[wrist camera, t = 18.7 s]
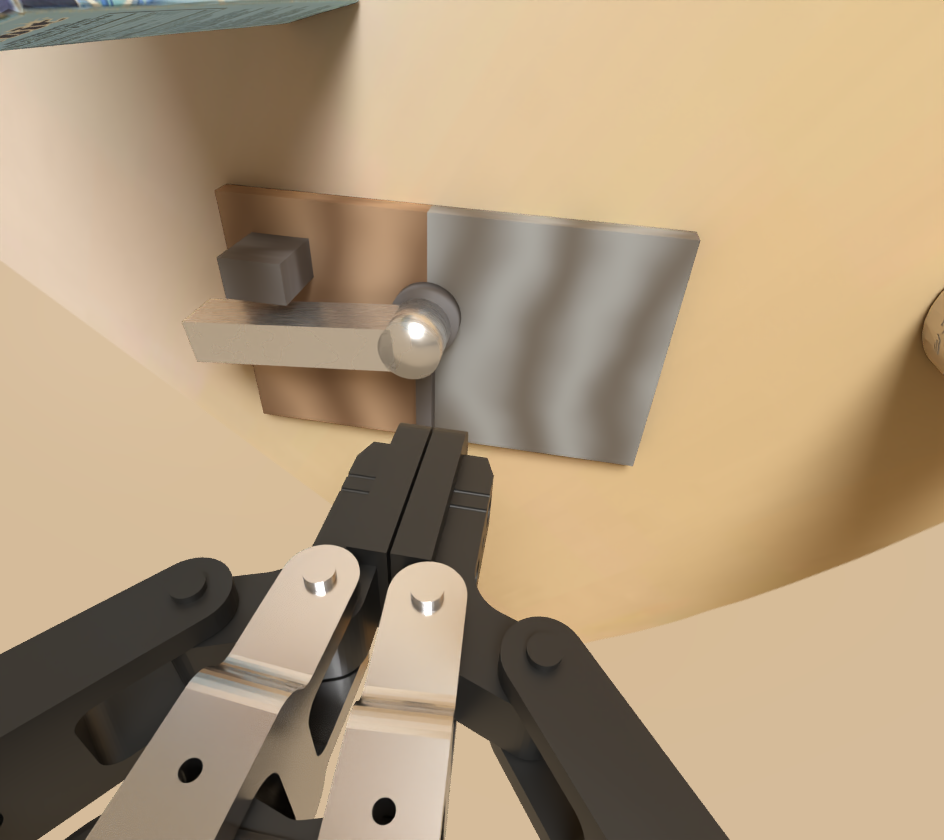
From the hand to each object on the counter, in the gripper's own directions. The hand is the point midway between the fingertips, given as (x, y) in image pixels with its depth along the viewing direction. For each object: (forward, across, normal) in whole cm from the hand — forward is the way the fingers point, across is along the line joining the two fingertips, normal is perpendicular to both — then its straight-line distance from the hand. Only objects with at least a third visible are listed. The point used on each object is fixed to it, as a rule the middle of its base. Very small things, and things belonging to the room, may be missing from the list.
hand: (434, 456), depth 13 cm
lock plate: (+27, +5, +12) cm, 30 cm away
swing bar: (+24, +12, +11) cm, 29 cm away
